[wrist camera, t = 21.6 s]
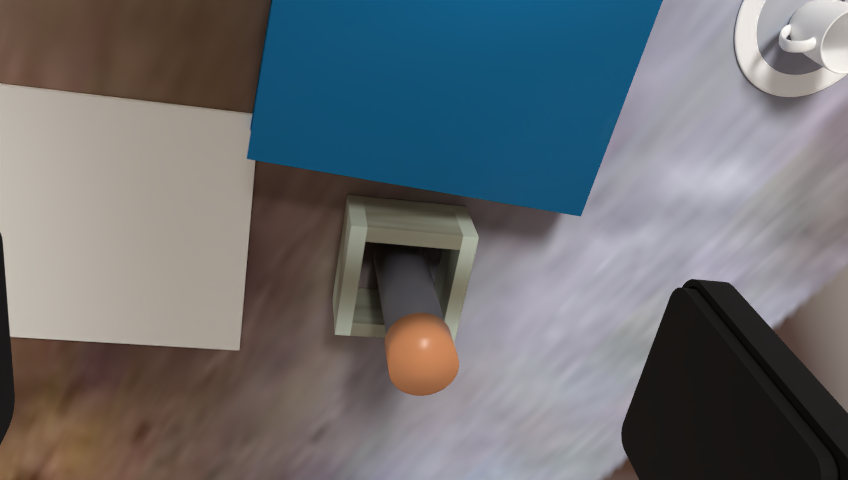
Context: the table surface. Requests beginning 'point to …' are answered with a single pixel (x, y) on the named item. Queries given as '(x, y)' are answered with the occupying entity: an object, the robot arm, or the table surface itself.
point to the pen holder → (401, 226)
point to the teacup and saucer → (796, 47)
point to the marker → (413, 322)
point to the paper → (123, 218)
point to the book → (450, 92)
